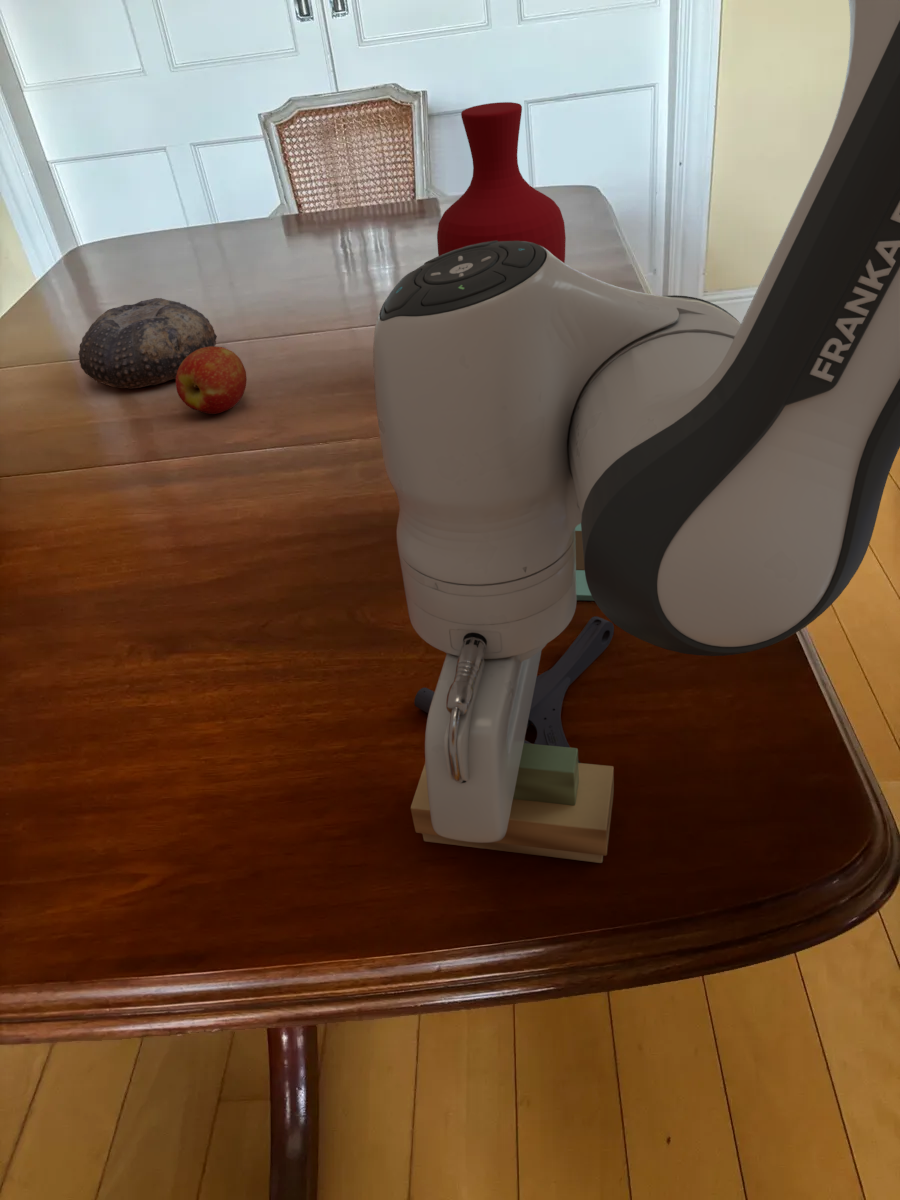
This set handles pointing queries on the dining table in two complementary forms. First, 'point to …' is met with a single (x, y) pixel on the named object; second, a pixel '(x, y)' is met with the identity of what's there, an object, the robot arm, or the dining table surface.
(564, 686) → the bracket
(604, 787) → the brush
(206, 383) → the apple
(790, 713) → the dining table surface
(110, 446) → the dining table surface
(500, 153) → the vase
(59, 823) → the dining table surface
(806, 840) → the dining table surface
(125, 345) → the sea urchin shell
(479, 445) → the robot arm
